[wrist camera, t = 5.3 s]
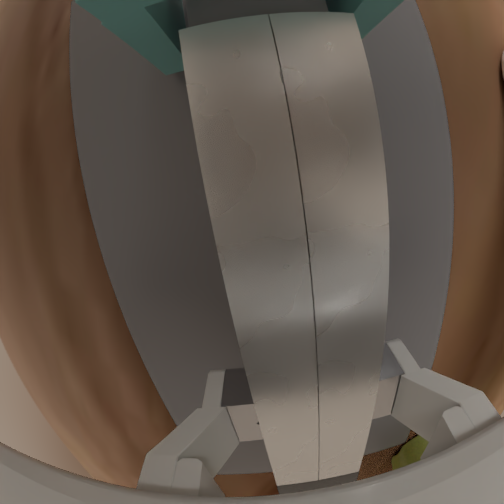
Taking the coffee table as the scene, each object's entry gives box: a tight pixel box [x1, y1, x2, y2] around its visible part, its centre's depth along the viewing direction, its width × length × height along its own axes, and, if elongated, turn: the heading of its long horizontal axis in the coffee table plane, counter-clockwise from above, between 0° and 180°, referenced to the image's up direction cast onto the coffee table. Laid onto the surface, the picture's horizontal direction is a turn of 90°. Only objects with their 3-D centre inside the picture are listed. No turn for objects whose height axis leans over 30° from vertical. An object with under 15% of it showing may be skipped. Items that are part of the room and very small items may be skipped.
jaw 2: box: [269, 12, 389, 489], centre depth 8 cm, size 16×2×4 cm, turn 10°
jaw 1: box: [178, 14, 319, 494], centre depth 8 cm, size 16×2×4 cm, turn 10°
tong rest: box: [69, 0, 454, 474], centre depth 9 cm, size 26×13×4 cm, turn 10°
